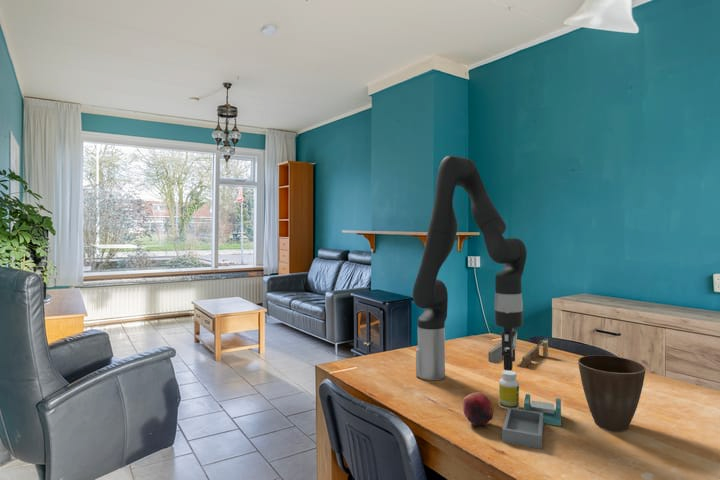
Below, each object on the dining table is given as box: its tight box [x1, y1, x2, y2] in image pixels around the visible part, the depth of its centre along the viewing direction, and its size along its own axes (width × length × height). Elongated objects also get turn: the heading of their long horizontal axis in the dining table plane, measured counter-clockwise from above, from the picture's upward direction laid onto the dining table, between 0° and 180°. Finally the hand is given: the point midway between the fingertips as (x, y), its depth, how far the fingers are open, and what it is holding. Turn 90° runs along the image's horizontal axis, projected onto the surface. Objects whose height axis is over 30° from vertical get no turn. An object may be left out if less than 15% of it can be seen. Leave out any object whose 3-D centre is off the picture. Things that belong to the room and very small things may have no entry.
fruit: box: [462, 391, 495, 427], centre depth 112 cm, size 8×8×8 cm
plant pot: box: [577, 354, 646, 432], centre depth 111 cm, size 15×15×16 cm
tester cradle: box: [523, 393, 562, 427], centre depth 116 cm, size 9×7×4 cm
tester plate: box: [530, 400, 555, 414], centre depth 116 cm, size 6×4×1 cm
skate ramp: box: [487, 338, 549, 368], centre depth 164 cm, size 29×35×8 cm
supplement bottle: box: [498, 370, 520, 411], centre depth 123 cm, size 5×5×10 cm
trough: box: [501, 407, 544, 450], centre depth 107 cm, size 9×14×3 cm, turn 155°
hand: (509, 365), depth 123 cm, fingers open, 8 cm apart
